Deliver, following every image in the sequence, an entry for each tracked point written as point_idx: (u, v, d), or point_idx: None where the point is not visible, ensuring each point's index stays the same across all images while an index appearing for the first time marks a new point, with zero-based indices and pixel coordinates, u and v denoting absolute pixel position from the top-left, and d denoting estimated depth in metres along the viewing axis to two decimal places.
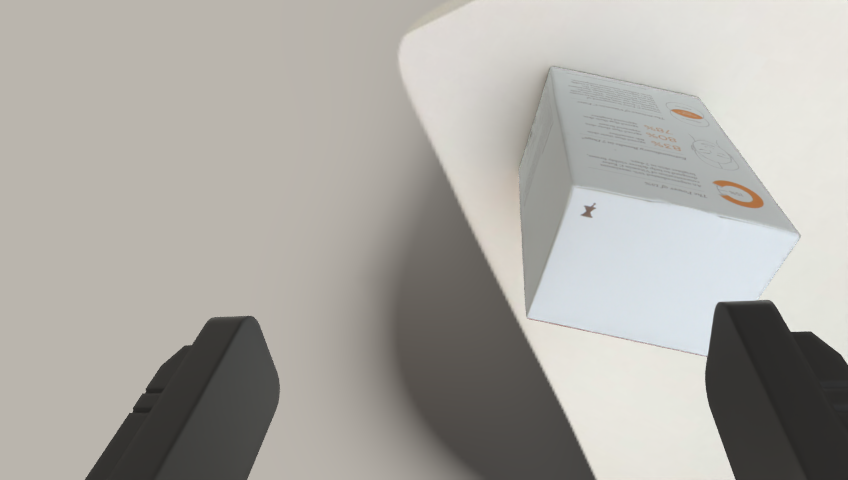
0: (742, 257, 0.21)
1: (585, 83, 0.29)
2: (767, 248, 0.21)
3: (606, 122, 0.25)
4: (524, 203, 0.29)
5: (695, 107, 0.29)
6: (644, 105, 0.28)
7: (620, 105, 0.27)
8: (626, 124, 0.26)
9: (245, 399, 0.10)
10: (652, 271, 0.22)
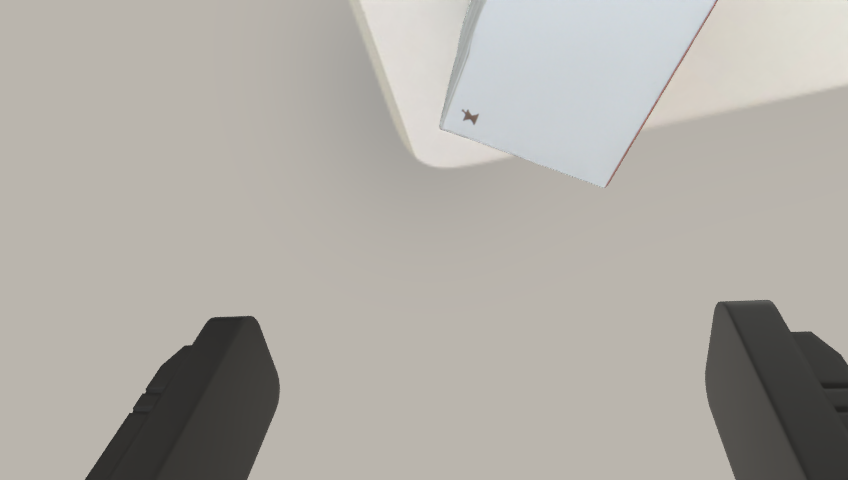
0: None
1: (468, 9, 0.28)
2: None
3: (467, 25, 0.24)
4: None
5: None
6: None
7: None
8: (475, 1, 0.24)
9: (245, 399, 0.10)
10: (562, 52, 0.18)
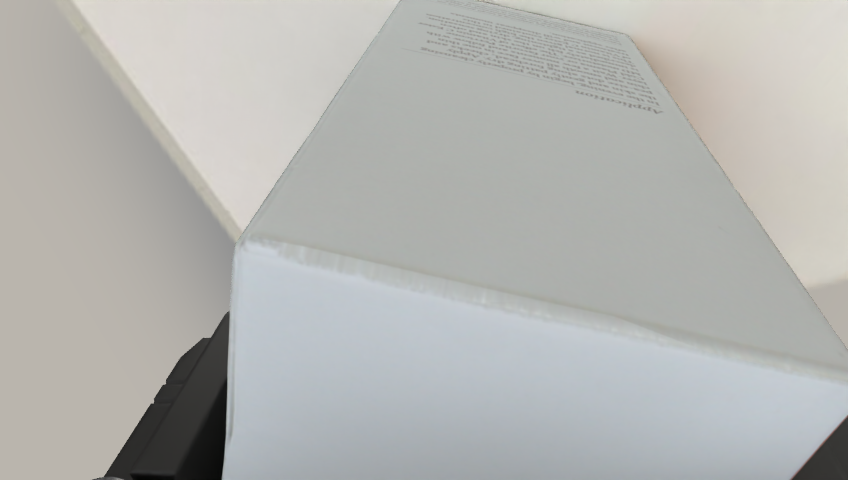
0: (352, 385, 0.06)
1: None
2: (307, 327, 0.06)
3: None
4: None
5: None
6: None
7: None
8: None
9: None
10: None
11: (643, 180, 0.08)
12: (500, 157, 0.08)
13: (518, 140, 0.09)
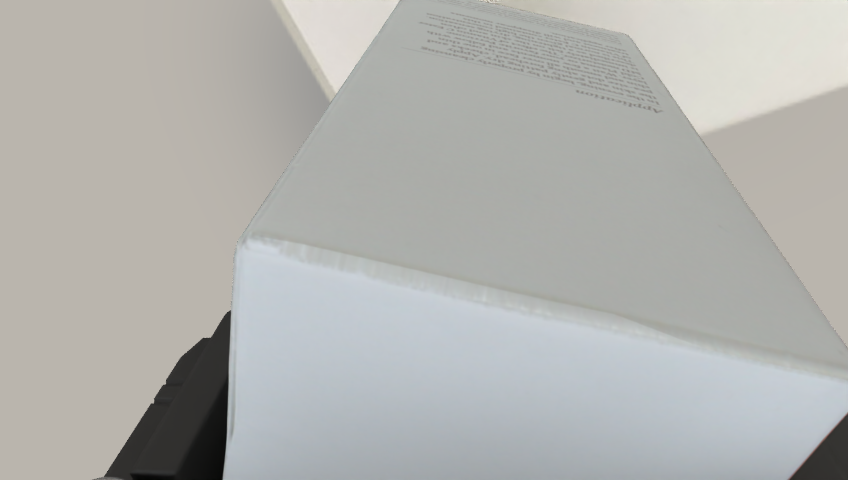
0: (353, 382, 0.06)
1: None
2: (308, 325, 0.06)
3: None
4: None
5: None
6: None
7: None
8: None
9: None
10: None
11: (643, 180, 0.08)
12: (500, 156, 0.08)
13: (518, 139, 0.09)
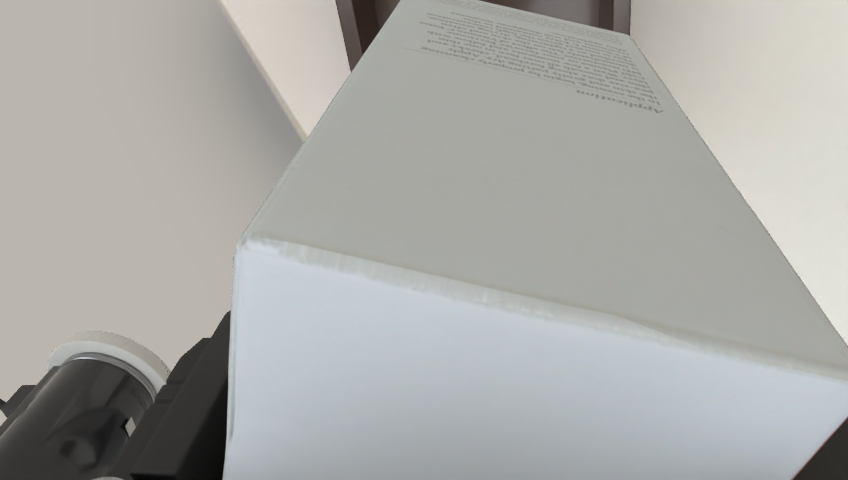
0: (353, 384, 0.06)
1: None
2: (308, 326, 0.06)
3: None
4: None
5: None
6: None
7: None
8: None
9: None
10: None
11: (644, 179, 0.08)
12: (501, 156, 0.08)
13: (519, 139, 0.09)
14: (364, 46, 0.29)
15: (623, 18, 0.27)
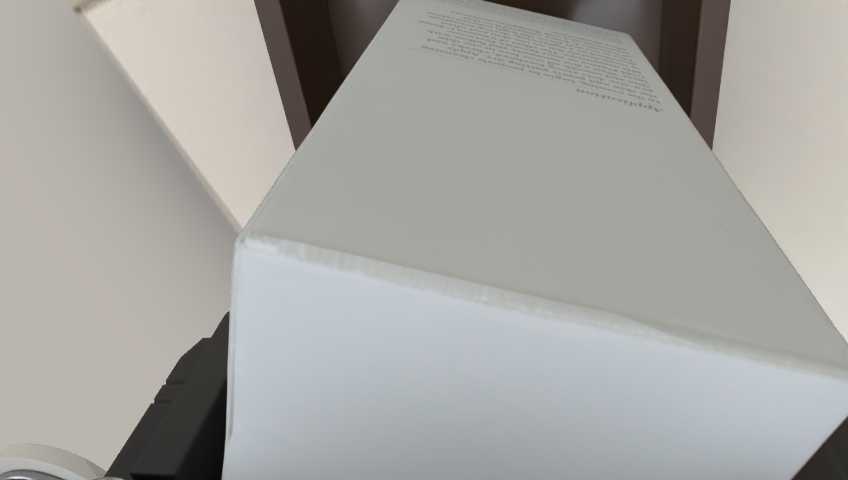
0: (352, 382, 0.06)
1: None
2: (307, 325, 0.06)
3: None
4: None
5: None
6: None
7: None
8: None
9: None
10: None
11: (644, 178, 0.08)
12: (500, 155, 0.08)
13: (519, 137, 0.09)
14: None
15: None
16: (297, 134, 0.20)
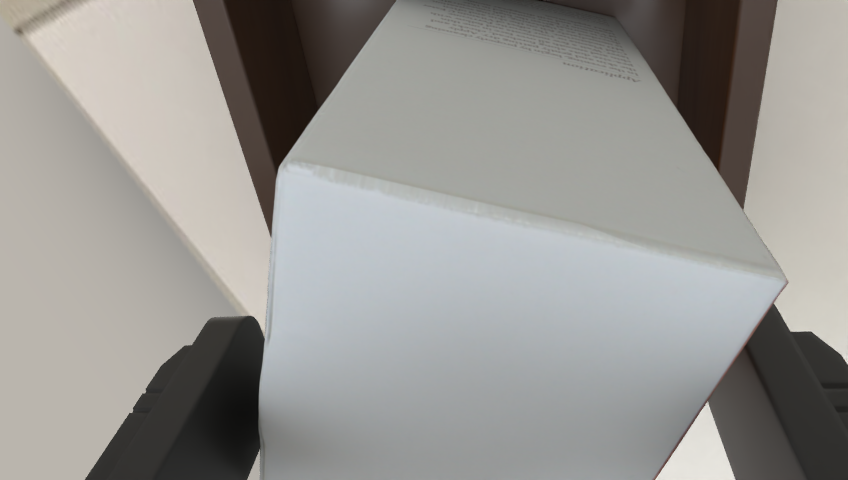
0: (370, 287, 0.08)
1: None
2: (334, 237, 0.07)
3: None
4: None
5: None
6: None
7: None
8: None
9: (245, 399, 0.10)
10: (432, 443, 0.09)
11: (615, 132, 0.10)
12: (492, 112, 0.09)
13: (509, 99, 0.10)
14: None
15: None
16: (259, 181, 0.17)
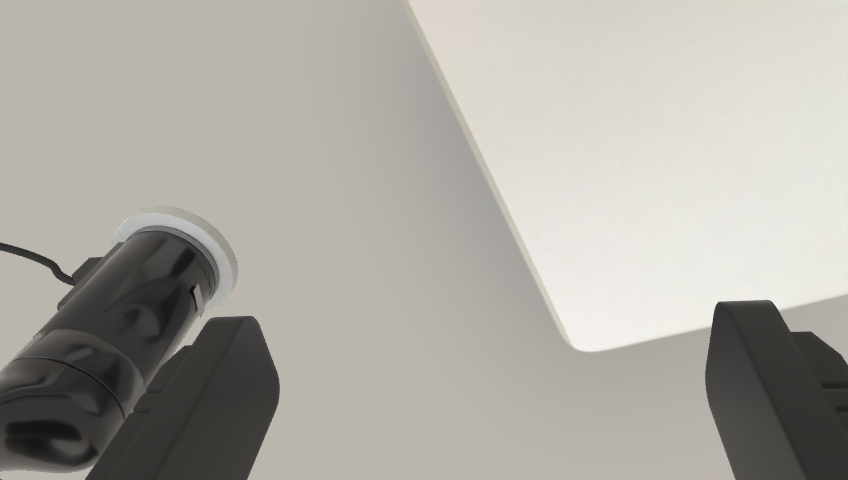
0: None
1: None
2: None
3: None
4: None
5: None
6: None
7: None
8: None
9: (245, 399, 0.10)
10: None
11: None
12: None
13: None
14: None
15: None
16: None
